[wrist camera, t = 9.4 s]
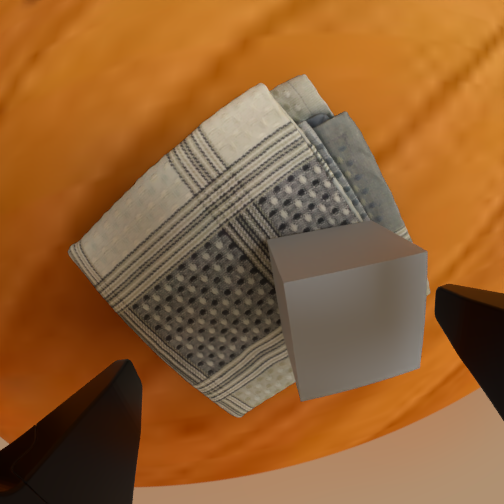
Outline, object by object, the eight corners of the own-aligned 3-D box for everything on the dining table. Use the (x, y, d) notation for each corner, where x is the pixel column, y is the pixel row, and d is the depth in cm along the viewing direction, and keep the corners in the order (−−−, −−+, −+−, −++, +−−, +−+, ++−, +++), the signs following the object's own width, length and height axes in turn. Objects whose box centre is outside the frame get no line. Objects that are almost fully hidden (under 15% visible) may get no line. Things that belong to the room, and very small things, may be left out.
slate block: (282, 334, 19) (300, 401, 14) (266, 239, 17) (283, 282, 12) (375, 313, 19) (419, 367, 14) (371, 220, 17) (427, 251, 12)
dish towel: (233, 410, 24) (234, 439, 21) (72, 243, 20) (49, 258, 16) (429, 281, 22) (452, 298, 19) (299, 63, 17) (311, 48, 14)
